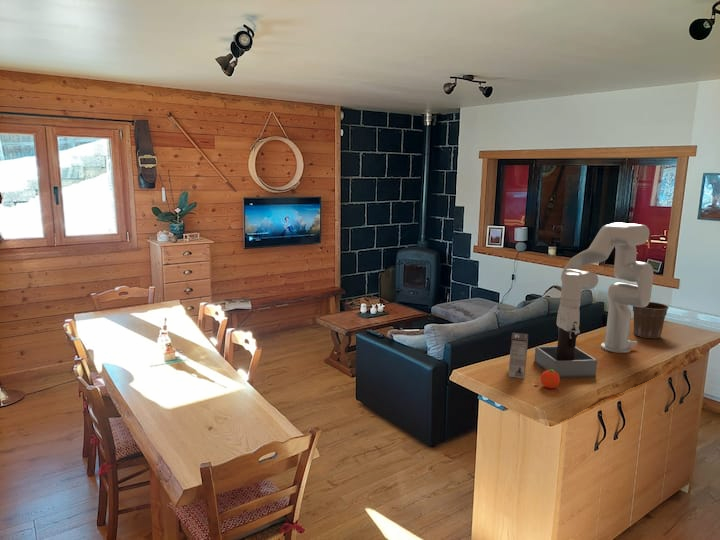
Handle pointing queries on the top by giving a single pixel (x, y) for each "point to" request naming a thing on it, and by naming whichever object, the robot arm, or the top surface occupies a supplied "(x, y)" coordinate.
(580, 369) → the tote
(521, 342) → the coffee box
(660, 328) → the plant pot
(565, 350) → the vinegar
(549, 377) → the clementine
